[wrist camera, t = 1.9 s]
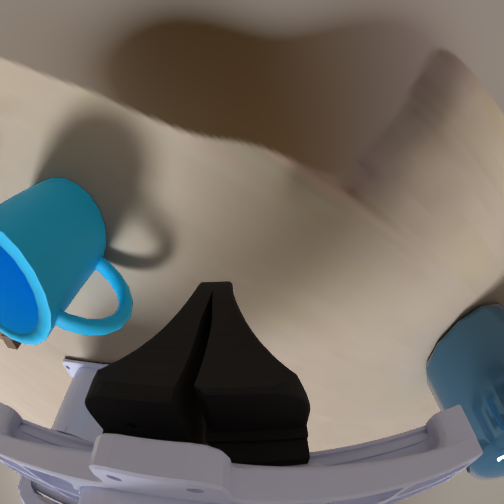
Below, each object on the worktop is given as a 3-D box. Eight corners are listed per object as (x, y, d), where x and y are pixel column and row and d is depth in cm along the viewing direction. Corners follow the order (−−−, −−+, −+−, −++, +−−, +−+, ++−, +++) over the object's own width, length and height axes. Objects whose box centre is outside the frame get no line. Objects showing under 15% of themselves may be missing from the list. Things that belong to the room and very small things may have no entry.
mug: (17, 243, 19) (-40, 295, 11) (39, 158, 16) (-40, 193, 9) (127, 316, 22) (95, 394, 15) (170, 242, 19) (134, 321, 12)
